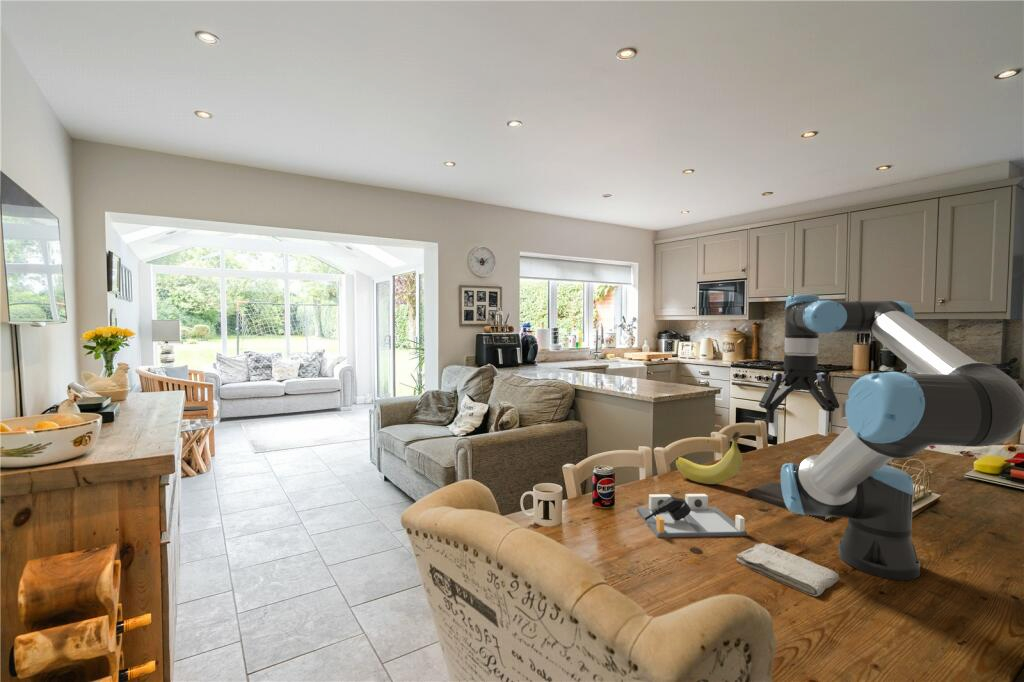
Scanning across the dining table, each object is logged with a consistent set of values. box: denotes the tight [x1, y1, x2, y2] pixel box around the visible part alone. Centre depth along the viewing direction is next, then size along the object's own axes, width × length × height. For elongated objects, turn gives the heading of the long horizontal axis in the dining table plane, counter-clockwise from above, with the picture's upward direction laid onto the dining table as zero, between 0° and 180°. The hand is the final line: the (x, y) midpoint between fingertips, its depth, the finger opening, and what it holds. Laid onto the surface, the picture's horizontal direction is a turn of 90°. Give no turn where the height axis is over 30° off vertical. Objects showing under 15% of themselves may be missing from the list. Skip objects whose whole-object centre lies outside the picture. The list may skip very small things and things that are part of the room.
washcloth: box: [736, 542, 840, 597], centre depth 107 cm, size 12×18×3 cm, turn 36°
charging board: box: [636, 493, 748, 538], centre depth 133 cm, size 17×24×5 cm
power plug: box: [643, 496, 691, 524], centre depth 131 cm, size 6×8×12 cm
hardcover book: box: [746, 481, 832, 522], centre depth 149 cm, size 16×23×2 cm
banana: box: [674, 430, 744, 485], centre depth 165 cm, size 23×6×20 cm, turn 47°
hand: (798, 435), depth 124 cm, fingers open, 13 cm apart
